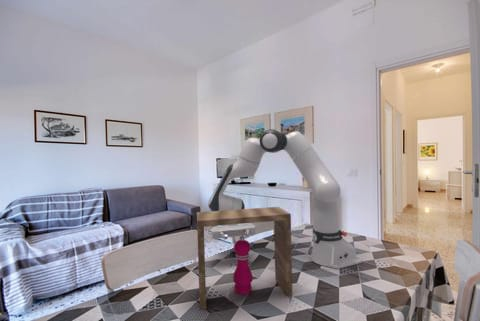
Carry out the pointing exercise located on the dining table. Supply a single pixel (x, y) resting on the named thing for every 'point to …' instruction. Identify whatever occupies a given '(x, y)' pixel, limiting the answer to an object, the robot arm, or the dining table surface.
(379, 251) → the dining table surface
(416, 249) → the dining table surface
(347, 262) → the robot arm
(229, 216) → the arch
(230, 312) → the dining table surface
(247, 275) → the pepper mill
